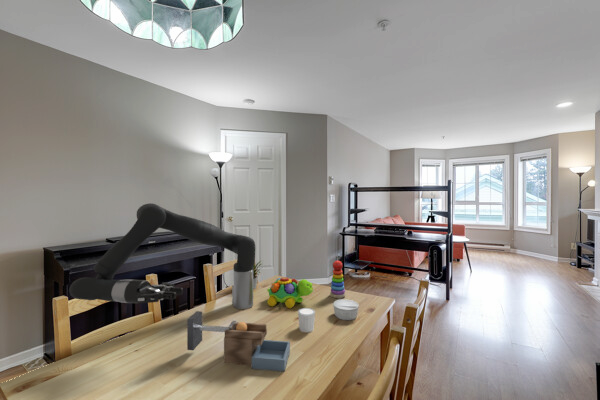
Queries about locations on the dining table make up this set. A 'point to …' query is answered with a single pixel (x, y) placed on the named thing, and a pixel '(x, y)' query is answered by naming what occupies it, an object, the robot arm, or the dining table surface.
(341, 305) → the ramekin
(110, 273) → the robot arm
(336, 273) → the stacking toy
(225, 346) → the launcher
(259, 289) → the dining table surface
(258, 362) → the blue square tray
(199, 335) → the pusher
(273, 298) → the turtle toy
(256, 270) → the house plant
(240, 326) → the ball
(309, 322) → the white cup
